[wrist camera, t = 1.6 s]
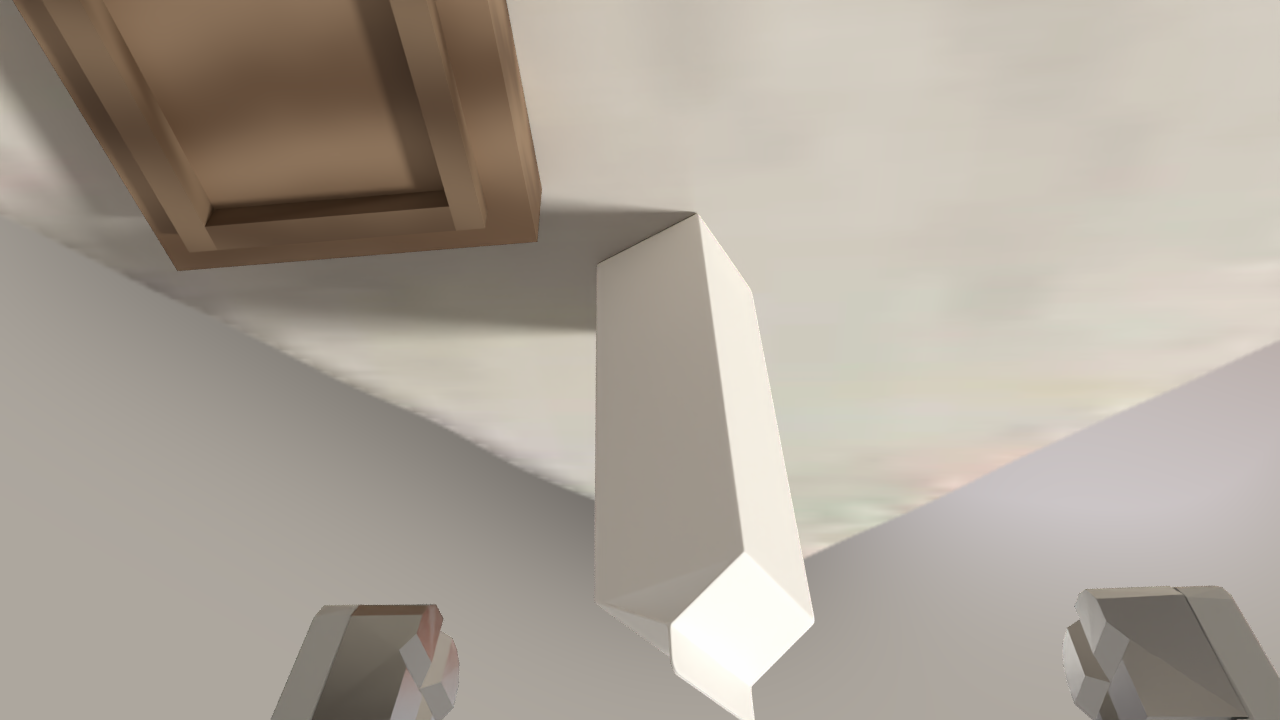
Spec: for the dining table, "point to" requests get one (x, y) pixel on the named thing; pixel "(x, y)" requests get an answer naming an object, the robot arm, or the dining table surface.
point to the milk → (692, 468)
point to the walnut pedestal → (304, 122)
